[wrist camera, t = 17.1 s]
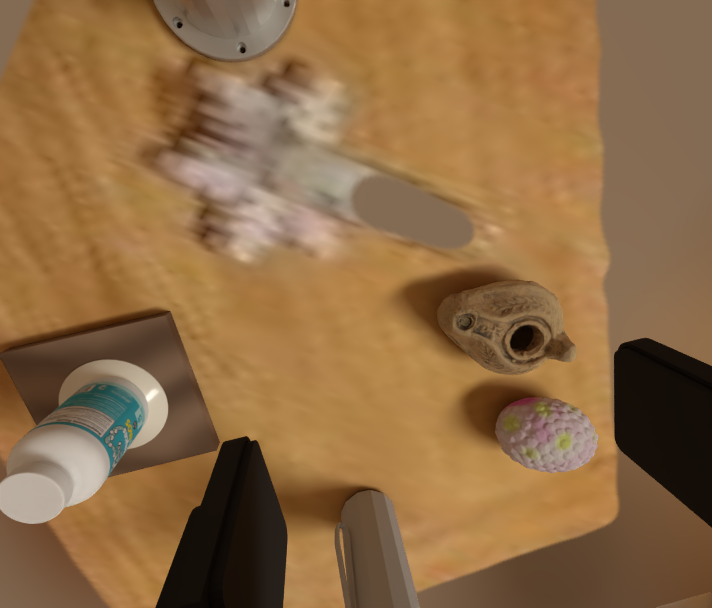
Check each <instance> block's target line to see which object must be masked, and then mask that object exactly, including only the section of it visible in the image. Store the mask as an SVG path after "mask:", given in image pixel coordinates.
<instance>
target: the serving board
mask: <svg viewBox="0 0 712 608" xmlns="http://www.w3.org/2000/svg"><path fill="white" fill-rule="evenodd" d="M0 358H1V360H2V362H3V364H4V366H5V367H6V369H7V371H8V373H9V375H10V377H11V379H12V380H13V382H14V384H15V386H16V388H17V390H18V392H19V393H20V395H21V397H22V399H23V401H24V403H25V404H26V406H27V408H28V410H29V412H30V414H31V416H32V417H33V419H34V421H35V423H36V425H38V424H39V423H40V422H41V421H43V420H44V419H45V418H46V417H47V416H48V415H50V414H51V413H52V412H53V411H54V410H55V409H57V408H58V407H59V406H60V405H61V404H62V403H64V402H65V401H66V400H67V399H68V398H69V397H71V396H72V395H73V394H74V393H75V392H76V391H78V390H79V389H80V388H81V387H82V386H84V385H85V384H86V383H88V382H90V381H92V380H95V379H98V378H103V377H116V378H121V379H124V380H127V381H129V382H131V383H133V384H134V385H136V386H137V387H138V388H139V389H140V390H141V391H142V392H143V394H144V395H145V397H146V399H147V402H148V407H149V413H148V418H147V421H146V423H145V425H144V426H143V428H142V429H141V431H140V432H139V433H138V435H137V436H136V438H135V439H134V440H133V442H132V443H131V445H130V446H129V448H128V449H127V450H126V452H125V453H124V455H123V456H122V457H121V459H120V460H119V462H118V463H117V465H116V466H115V468H114V469H113V470H112V472H111V473H110V475H109V476H108V477H111V476H115V475H119V474H123V473H128V472H132V471H136V470H140V469H144V468H148V467H152V466H156V465H160V464H164V463H168V462H172V461H176V460H180V459H184V458H188V457H192V456H196V455H200V454H204V453H208V452H212V451H216V450H217V448H218V446H219V443H220V442H219V439H218V437H217V434H216V431H215V429H214V426H213V423H212V421H211V418H210V415H209V413H208V410H207V407H206V405H205V402H204V399H203V397H202V394H201V391H200V389H199V386H198V383H197V381H196V378H195V375H194V373H193V370H192V367H191V365H190V362H189V359H188V357H187V354H186V352H185V349H184V346H183V344H182V341H181V338H180V336H179V333H178V330H177V328H176V325H175V322H174V320H173V317H172V314H171V312H170V311H169V312H165V313H160V314H156V315H152V316H147V317H143V318H139V319H134V320H130V321H126V322H121V323H117V324H113V325H108V326H104V327H100V328H95V329H91V330H87V331H82V332H78V333H74V334H69V335H65V336H61V337H56V338H52V339H48V340H43V341H39V342H35V343H30V344H26V345H22V346H17V347H13V348H9V349H7V350H5V351H3V352H1V353H0Z"/></svg>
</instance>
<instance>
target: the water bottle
mask: <svg viewBox="0 0 712 608" xmlns="http://www.w3.org/2000/svg"><path fill="white" fill-rule="evenodd" d="M341 521H342V523H341V522H339V523H338V524H337V525H336V529H335V549H336V555H337V561H338V567H339V573H340V578H341V584H342V590H343V596H344V602H345V608H420V607H419V603H418V599H417V595H416V591H415V587H414V583H413V580H412V576H411V572H410V568H409V564H408V560H407V556H406V553H405V549H404V545H403V541H402V537H401V533H400V530H399V526H398V522H397V518H396V514H395V510H394V506H393V503H392V501H391V500H390V499H389V498H388V497H387V496H386V495H385V494H384V493H382V492H378V491H373V490H366V491H362V492H357V493H356V494H355V495H354V496H352V497H351V498H350V499H349V500H347V501H346V502H345V505H344V507H343V509H342V511H341ZM339 528H342V532H343V543H344V554H345V565H346V575H345V569H344V564H343V558H342V552H341V546H340V540H339ZM346 576H347V581H346Z"/></svg>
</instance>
